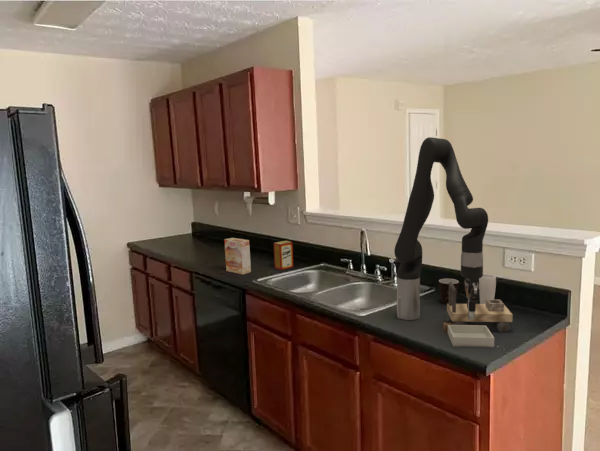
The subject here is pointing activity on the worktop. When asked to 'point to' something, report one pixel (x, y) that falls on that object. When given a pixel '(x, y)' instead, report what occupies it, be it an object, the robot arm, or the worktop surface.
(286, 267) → the baking soda box
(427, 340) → the worktop surface
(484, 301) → the drinking glass
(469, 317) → the stop pin
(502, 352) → the worktop surface
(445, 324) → the wheel chock
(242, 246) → the coffeecake box
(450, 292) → the trolley
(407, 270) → the robot arm
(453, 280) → the coffee mug
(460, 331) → the tray
